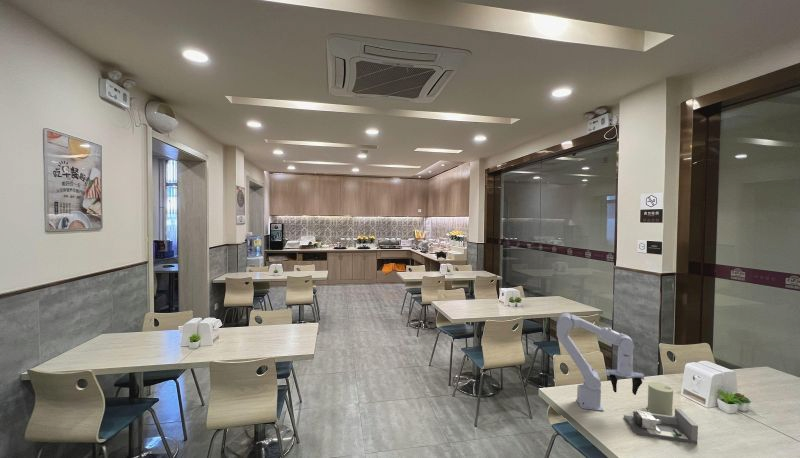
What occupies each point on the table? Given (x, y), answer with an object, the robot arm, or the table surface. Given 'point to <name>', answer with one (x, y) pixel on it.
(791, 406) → the table surface
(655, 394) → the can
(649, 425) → the white mechanical block
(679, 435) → the peak marker
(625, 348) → the robot arm
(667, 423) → the gauge base
